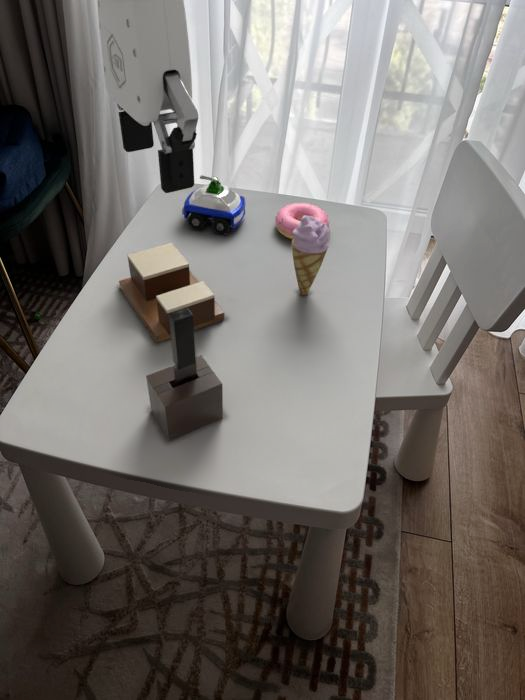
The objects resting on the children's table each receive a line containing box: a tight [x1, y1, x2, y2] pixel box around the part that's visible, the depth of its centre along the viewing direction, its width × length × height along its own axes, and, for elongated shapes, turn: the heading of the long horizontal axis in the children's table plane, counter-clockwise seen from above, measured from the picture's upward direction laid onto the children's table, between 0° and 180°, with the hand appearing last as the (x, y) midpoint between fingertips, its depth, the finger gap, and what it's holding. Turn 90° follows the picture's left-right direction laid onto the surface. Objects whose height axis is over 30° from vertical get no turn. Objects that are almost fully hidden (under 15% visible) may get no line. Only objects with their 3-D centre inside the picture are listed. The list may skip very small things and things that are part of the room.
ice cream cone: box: [291, 215, 331, 296], centre depth 89 cm, size 7×6×15 cm
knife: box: [169, 308, 197, 387], centre depth 67 cm, size 3×2×18 cm, turn 121°
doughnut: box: [274, 202, 331, 241], centre depth 108 cm, size 11×11×4 cm
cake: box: [126, 242, 190, 301], centre depth 90 cm, size 8×7×5 cm
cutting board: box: [118, 270, 225, 344], centre depth 90 cm, size 12×16×2 cm
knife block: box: [145, 354, 224, 442], centre depth 71 cm, size 8×6×7 cm
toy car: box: [181, 174, 246, 236], centre depth 107 cm, size 9×12×10 cm
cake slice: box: [156, 280, 216, 335], centre depth 84 cm, size 8×4×5 cm, turn 121°
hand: (157, 167), depth 54 cm, fingers open, 9 cm apart
